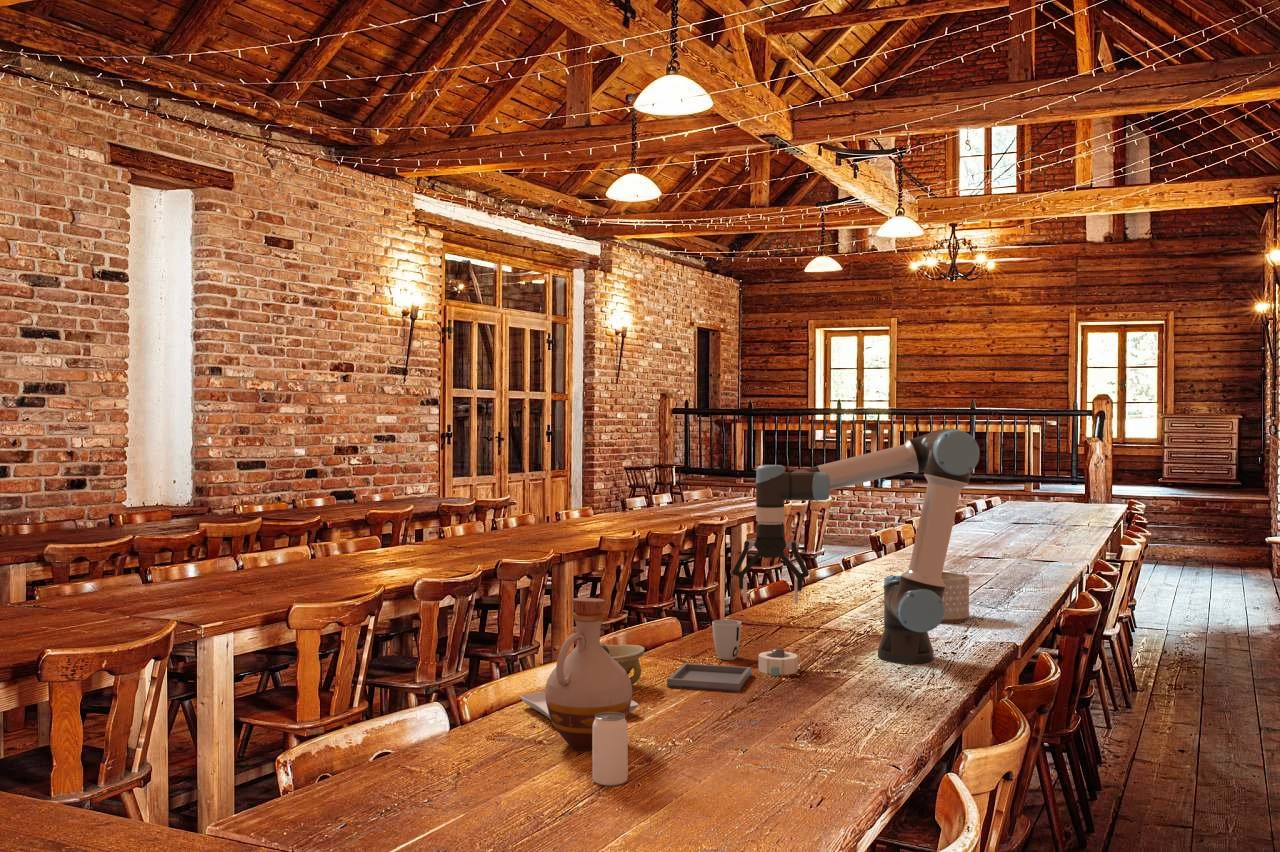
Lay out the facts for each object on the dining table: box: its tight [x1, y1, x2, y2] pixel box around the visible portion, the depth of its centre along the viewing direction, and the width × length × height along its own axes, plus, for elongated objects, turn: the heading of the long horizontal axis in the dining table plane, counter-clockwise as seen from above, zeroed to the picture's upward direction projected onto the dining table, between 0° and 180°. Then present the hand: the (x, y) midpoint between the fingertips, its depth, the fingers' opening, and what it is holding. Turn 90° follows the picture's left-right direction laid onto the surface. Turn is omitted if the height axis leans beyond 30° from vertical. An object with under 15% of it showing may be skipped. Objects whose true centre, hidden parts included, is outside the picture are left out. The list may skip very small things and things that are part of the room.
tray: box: [666, 662, 752, 693], centre depth 274 cm, size 18×18×2 cm
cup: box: [711, 619, 742, 661], centre depth 300 cm, size 8×8×10 cm
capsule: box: [771, 648, 785, 658], centre depth 285 cm, size 3×3×6 cm
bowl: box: [601, 644, 646, 686], centre depth 268 cm, size 18×18×10 cm
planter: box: [940, 571, 970, 624], centre depth 359 cm, size 19×19×14 cm
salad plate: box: [519, 690, 639, 720], centre depth 245 cm, size 21×21×3 cm
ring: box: [757, 650, 799, 677], centre depth 284 cm, size 10×12×4 cm
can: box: [592, 712, 629, 787], centre depth 198 cm, size 6×6×12 cm
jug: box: [544, 597, 633, 751], centre depth 219 cm, size 20×18×30 cm
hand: (770, 602), depth 287 cm, fingers open, 13 cm apart
